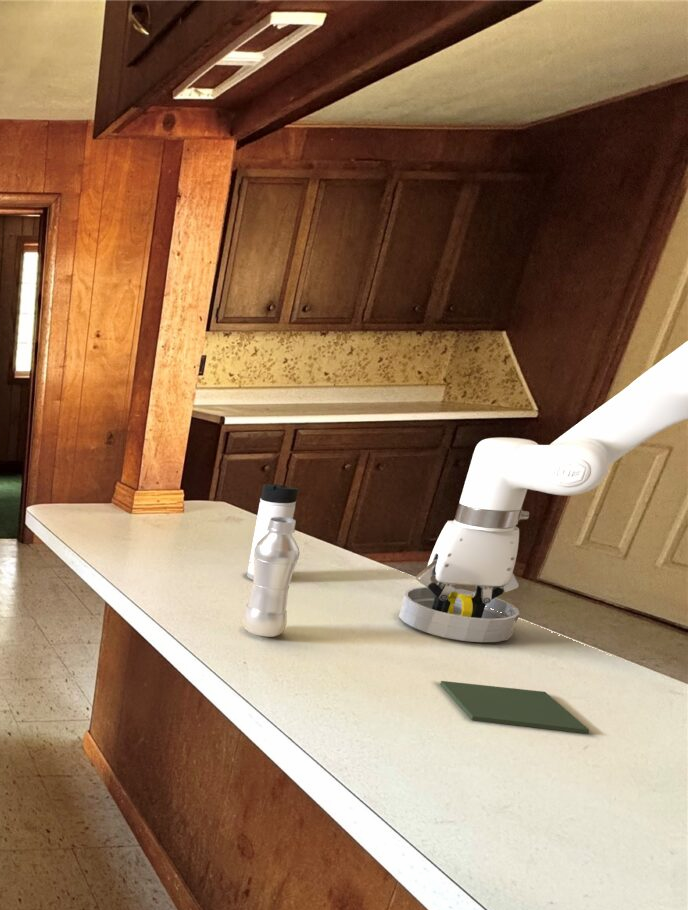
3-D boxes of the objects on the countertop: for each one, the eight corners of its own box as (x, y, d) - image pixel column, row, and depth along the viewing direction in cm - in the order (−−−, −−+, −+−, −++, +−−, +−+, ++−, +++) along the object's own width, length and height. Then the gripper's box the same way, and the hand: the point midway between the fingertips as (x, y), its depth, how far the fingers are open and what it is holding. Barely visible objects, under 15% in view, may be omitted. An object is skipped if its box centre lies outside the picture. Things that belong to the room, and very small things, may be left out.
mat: (543, 695, 92) (545, 691, 91) (587, 733, 83) (589, 729, 83) (439, 684, 95) (441, 680, 95) (471, 719, 87) (472, 716, 86)
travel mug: (238, 576, 139) (255, 482, 132) (260, 571, 142) (277, 478, 135) (265, 585, 134) (284, 488, 127) (287, 579, 137) (306, 484, 129)
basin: (484, 614, 118) (492, 590, 116) (529, 649, 104) (539, 623, 103) (385, 606, 122) (391, 583, 121) (416, 639, 109) (424, 614, 107)
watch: (435, 616, 116) (444, 584, 114) (453, 617, 115) (463, 585, 113) (451, 630, 111) (462, 597, 109) (471, 631, 110) (482, 598, 108)
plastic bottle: (261, 643, 109) (283, 527, 102) (231, 628, 116) (250, 517, 108) (292, 638, 111) (317, 522, 104) (261, 623, 117) (282, 513, 110)
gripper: (537, 513, 107) (502, 617, 114) (415, 509, 112) (388, 608, 119) (564, 525, 100) (525, 635, 107) (433, 520, 106) (404, 624, 112)
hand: (454, 620), depth 113 cm, fingers open, 3 cm apart
